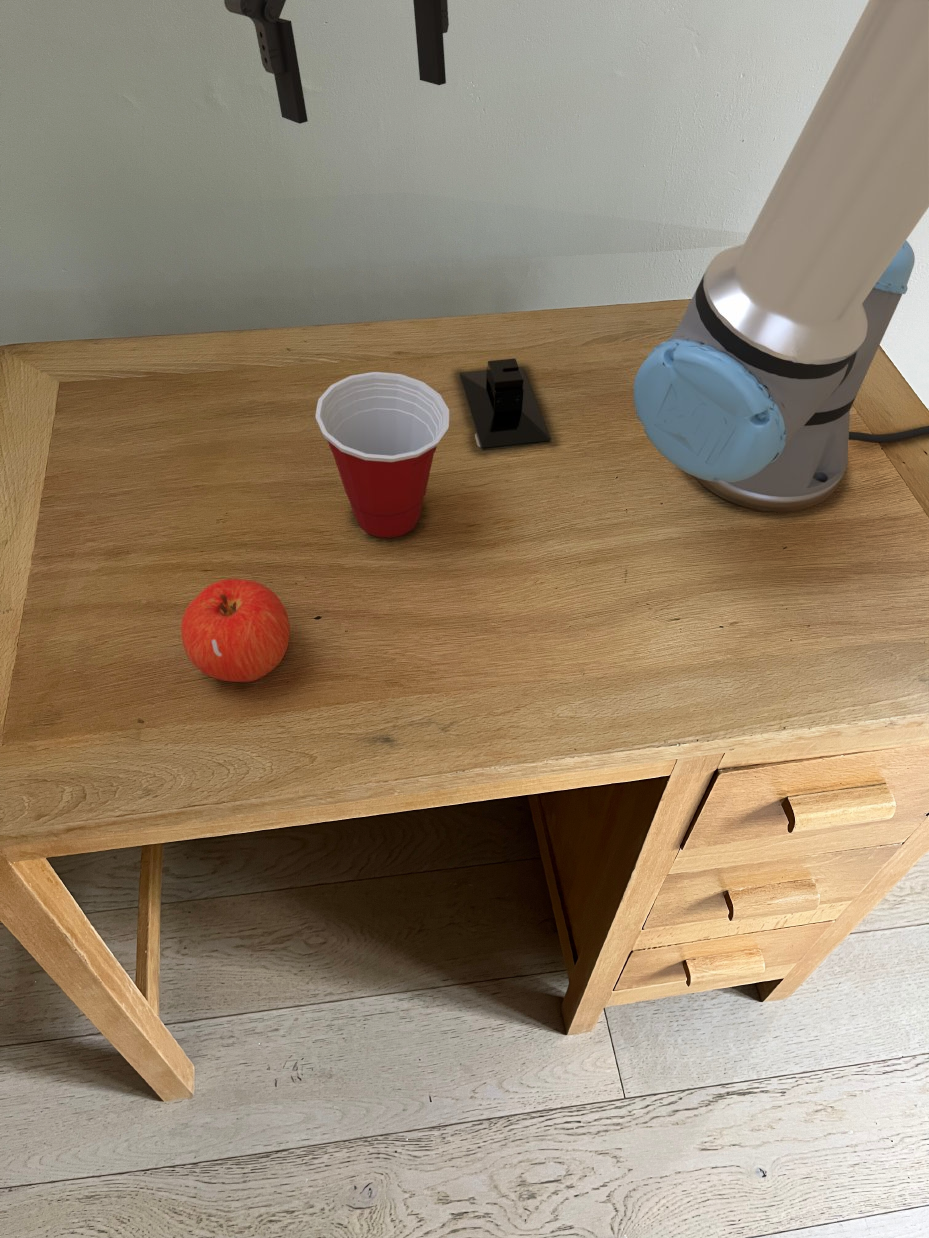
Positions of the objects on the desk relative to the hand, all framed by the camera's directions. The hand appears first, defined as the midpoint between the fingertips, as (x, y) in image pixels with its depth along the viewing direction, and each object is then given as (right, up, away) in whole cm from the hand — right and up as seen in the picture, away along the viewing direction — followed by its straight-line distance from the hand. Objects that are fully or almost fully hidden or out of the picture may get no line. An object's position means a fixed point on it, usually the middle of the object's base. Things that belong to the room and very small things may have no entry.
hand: (366, 100), depth 70 cm
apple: (-9, -46, -2) cm, 47 cm away
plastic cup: (+1, -33, +8) cm, 34 cm away
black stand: (+12, -21, +19) cm, 30 cm away
